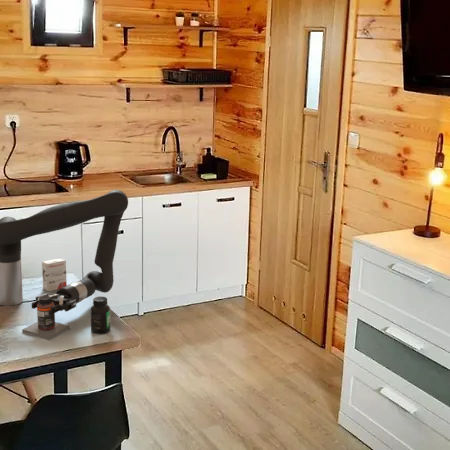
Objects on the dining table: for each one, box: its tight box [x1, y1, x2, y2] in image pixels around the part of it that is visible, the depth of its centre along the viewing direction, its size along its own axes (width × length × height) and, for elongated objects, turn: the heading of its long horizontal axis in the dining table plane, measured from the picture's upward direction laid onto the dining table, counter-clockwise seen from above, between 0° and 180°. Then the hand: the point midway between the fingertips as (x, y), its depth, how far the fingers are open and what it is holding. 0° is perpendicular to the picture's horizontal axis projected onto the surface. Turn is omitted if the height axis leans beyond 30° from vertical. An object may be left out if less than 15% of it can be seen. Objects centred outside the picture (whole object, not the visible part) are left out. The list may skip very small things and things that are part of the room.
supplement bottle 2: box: [90, 296, 111, 335], centre depth 249 cm, size 7×7×12 cm
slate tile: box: [21, 321, 71, 341], centre depth 248 cm, size 12×11×1 cm
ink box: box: [41, 257, 68, 292], centre depth 288 cm, size 9×5×12 cm, turn 130°
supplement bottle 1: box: [36, 295, 56, 330], centre depth 247 cm, size 6×6×11 cm
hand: (41, 308), depth 244 cm, fingers open, 8 cm apart
